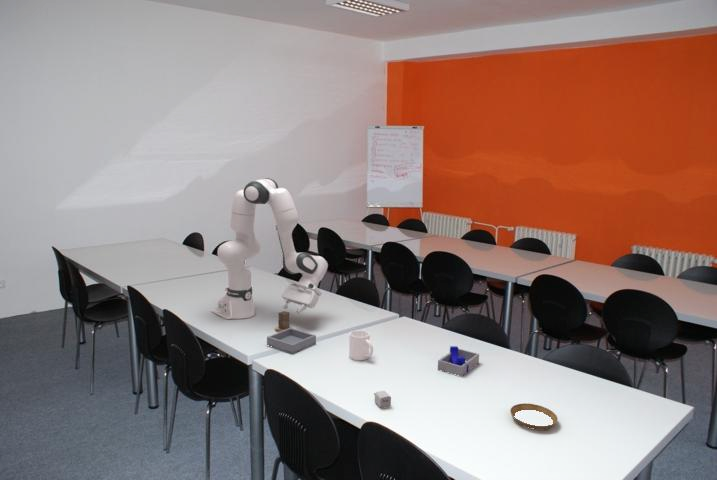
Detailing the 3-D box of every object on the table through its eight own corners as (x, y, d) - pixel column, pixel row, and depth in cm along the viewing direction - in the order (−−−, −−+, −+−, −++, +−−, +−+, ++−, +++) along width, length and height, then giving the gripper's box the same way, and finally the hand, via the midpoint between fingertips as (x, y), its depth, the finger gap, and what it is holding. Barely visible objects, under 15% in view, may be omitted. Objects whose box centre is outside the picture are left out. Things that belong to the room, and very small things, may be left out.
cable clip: (467, 372, 211) (469, 358, 210) (456, 372, 211) (457, 358, 210) (459, 360, 223) (460, 346, 222) (449, 359, 222) (450, 346, 221)
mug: (379, 360, 221) (380, 336, 219) (364, 365, 215) (365, 341, 213) (359, 351, 229) (360, 328, 227) (345, 356, 224) (345, 333, 222)
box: (267, 345, 233) (266, 336, 232) (290, 336, 245) (290, 327, 244) (292, 354, 224) (292, 345, 224) (315, 343, 237) (315, 335, 236)
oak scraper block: (274, 331, 251) (274, 312, 249) (283, 327, 256) (283, 309, 254) (284, 334, 247) (284, 315, 246) (293, 330, 252) (293, 312, 250)
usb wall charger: (380, 408, 181) (380, 397, 180) (371, 399, 187) (371, 389, 187) (390, 406, 183) (391, 395, 182) (381, 397, 189) (382, 387, 188)
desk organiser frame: (437, 369, 213) (438, 360, 212) (455, 356, 226) (456, 347, 226) (461, 376, 207) (461, 367, 206) (478, 363, 221) (479, 354, 220)
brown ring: (546, 410, 183) (547, 403, 183) (564, 433, 169) (565, 426, 168) (504, 410, 183) (504, 403, 182) (517, 433, 168) (518, 425, 168)
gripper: (288, 279, 263) (273, 302, 258) (317, 287, 250) (302, 311, 245) (295, 286, 267) (280, 309, 262) (324, 294, 254) (309, 318, 249)
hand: (291, 310), depth 253 cm, fingers open, 8 cm apart
